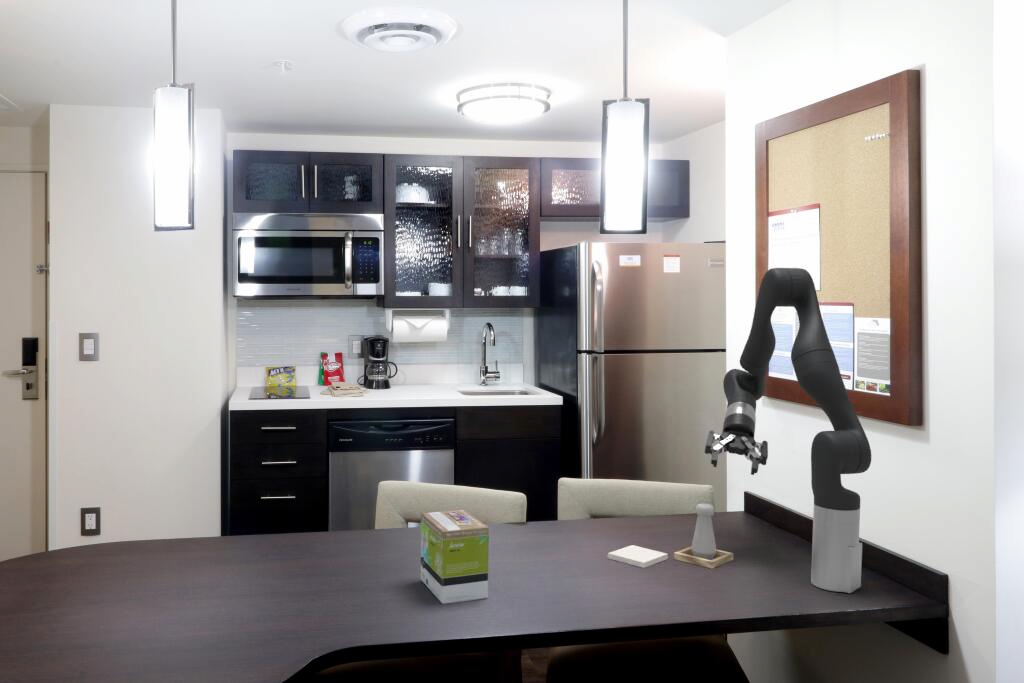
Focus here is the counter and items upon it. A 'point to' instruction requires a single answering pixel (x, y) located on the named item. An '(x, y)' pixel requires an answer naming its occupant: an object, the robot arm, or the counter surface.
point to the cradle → (686, 557)
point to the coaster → (637, 556)
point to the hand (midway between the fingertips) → (734, 468)
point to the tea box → (454, 556)
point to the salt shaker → (704, 533)
